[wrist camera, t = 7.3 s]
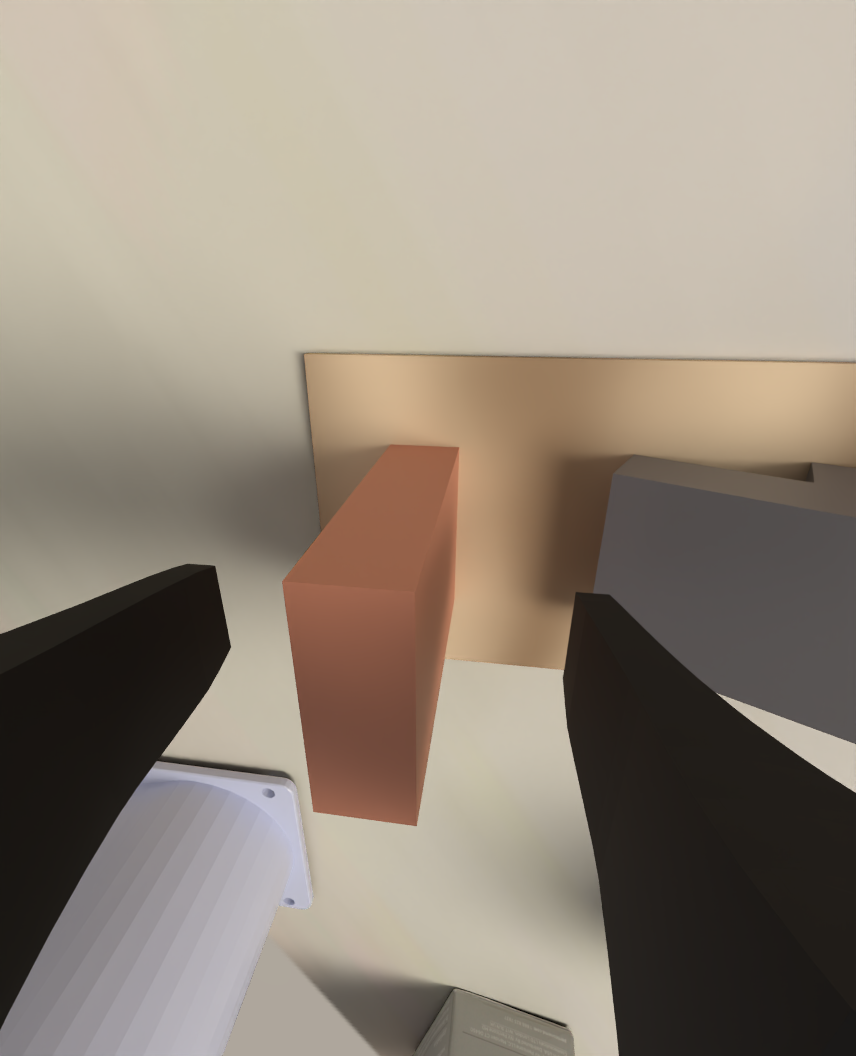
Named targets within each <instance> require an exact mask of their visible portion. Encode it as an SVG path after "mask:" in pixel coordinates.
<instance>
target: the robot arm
mask: <svg viewBox="0 0 856 1056" xmlns="http://www.w3.org/2000/svg"><path fill="white" fill-rule="evenodd" d="M230 648H231V645H230V639H229V634H228V629H227V624H226V619H225V614H224V609H223V604H222V599H221V594H220V588H219V583H218V578H217V573H216V568H215V566H210V565H197V564H185V565H181V566H178V567H174V568H171V569H168V570H165V571H163V572H160V573H157V574H154V575H152V576H149V577H146V578H144V579H141V580H139V581H136V582H134V583H131V584H129V585H126V586H124V587H121V588H119V589H116V590H114V591H111V592H109V593H106V594H104V595H101V596H99V597H96V598H94V599H92V600H89V601H87V602H84V603H82V604H79V605H77V606H74V607H72V608H69V609H66V610H64V611H61V612H58V613H56V614H53V615H50V616H48V617H45V618H42V619H40V620H37V621H34V622H32V623H29V624H26V625H24V626H21V627H18V628H16V629H13V630H11V631H8V632H5V633H2V634H0V1056H223V1053H224V1050H225V1048H226V1045H227V1042H228V1040H229V1037H230V1034H231V1032H232V1029H233V1026H234V1024H235V1021H236V1018H237V1016H238V1013H239V1010H240V1008H241V1005H242V1002H243V1000H244V997H245V994H246V991H247V989H248V986H249V984H250V981H251V978H252V975H253V972H254V970H255V967H256V964H257V962H258V959H259V957H260V954H261V951H262V949H263V946H264V943H265V940H266V938H267V935H268V933H269V930H270V927H271V925H272V922H273V919H274V917H275V914H276V911H277V908H278V906H284V907H290V908H297V909H308V908H309V907H310V906H311V904H312V901H313V897H314V896H313V890H312V883H311V877H310V870H309V864H308V858H307V851H306V845H305V838H304V832H303V826H302V819H301V813H300V806H299V800H298V793H297V788H296V785H295V784H294V783H293V782H292V781H291V780H289V779H287V778H284V777H276V776H268V775H260V774H253V773H245V772H237V771H229V770H222V769H214V768H206V767H198V766H191V765H183V764H175V763H168V762H160V761H157V760H158V759H159V757H160V756H161V755H162V753H163V752H164V751H165V749H166V748H167V747H168V745H169V744H170V743H171V741H172V740H173V738H174V737H175V736H176V734H177V733H178V732H179V730H180V729H181V728H182V726H183V725H184V723H185V722H186V721H187V719H188V718H189V717H190V715H191V714H192V712H193V711H194V710H195V708H196V707H197V705H198V704H199V703H200V701H201V700H202V698H203V697H204V695H205V694H206V693H207V691H208V690H209V688H210V686H211V684H212V683H213V681H214V679H215V677H216V675H217V674H218V672H219V670H220V668H221V666H222V664H223V662H224V660H225V658H226V656H227V654H228V652H229V650H230ZM563 685H564V697H565V709H566V719H567V728H568V733H569V738H570V743H571V748H572V752H573V757H574V762H575V766H576V771H577V776H578V780H579V785H580V790H581V794H582V799H583V803H584V808H585V813H586V817H587V822H588V826H589V831H590V836H591V840H592V845H593V849H594V855H595V861H596V866H597V872H598V878H599V885H600V893H601V901H602V909H603V917H604V925H605V933H606V941H607V949H608V958H609V967H610V976H611V985H612V994H613V1003H614V1012H615V1021H616V1030H617V1040H618V1050H619V1056H856V793H855V792H853V791H852V790H850V789H849V788H847V787H845V786H844V785H842V784H841V783H839V782H838V781H836V780H834V779H833V778H831V777H830V776H828V775H827V774H825V773H824V772H822V771H821V770H819V769H818V768H816V767H815V766H813V765H812V764H810V763H809V762H807V761H806V760H804V759H803V758H801V757H800V756H798V755H797V754H796V753H794V752H793V751H792V750H790V749H789V748H787V747H786V746H785V745H783V744H782V743H780V742H779V741H778V740H776V739H775V738H774V737H772V736H771V735H769V734H768V733H767V732H765V731H764V730H762V729H761V728H760V727H758V726H757V725H756V724H754V723H753V722H752V721H750V720H749V719H748V718H746V717H745V716H744V715H742V714H741V713H740V712H739V711H737V710H736V709H735V708H733V707H732V706H731V705H730V704H729V703H727V702H726V701H725V700H724V699H722V698H721V697H720V696H719V695H718V694H716V693H715V692H714V691H713V690H712V689H710V688H709V687H708V686H707V685H706V684H704V683H703V682H702V681H701V680H700V679H698V678H697V677H696V676H695V675H694V674H693V673H692V672H691V671H689V670H688V669H687V668H686V667H685V666H684V665H683V664H682V663H680V662H679V661H678V660H677V659H676V658H675V657H674V656H673V655H672V654H671V653H670V652H668V651H667V650H666V649H665V648H664V647H663V646H662V645H661V644H660V643H659V642H658V641H657V640H656V639H655V638H654V637H653V636H652V635H651V634H650V633H649V632H648V631H646V630H645V629H644V628H643V627H642V626H641V625H640V624H639V623H638V622H637V621H636V620H635V619H634V618H633V617H632V616H631V615H630V614H629V613H628V612H627V611H626V610H625V609H624V608H623V607H622V606H621V605H620V604H619V603H618V602H617V601H616V600H615V599H614V598H613V597H612V596H611V595H609V594H596V593H582V592H576V593H575V600H574V607H573V614H572V620H571V627H570V634H569V641H568V648H567V654H566V661H565V668H564V675H563Z"/></svg>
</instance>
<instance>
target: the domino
mask: <svg viewBox="0 0 856 1056" xmlns="http://www.w3.org/2000/svg"><path fill="white" fill-rule="evenodd" d="M593 593H596V594H609V595H611V596H612V597H613V598H614V599H615V600H616V601H617V602H618V603H619V604H620V605H621V606H622V607H623V608H624V609H625V610H626V611H627V612H628V613H629V614H630V615H631V616H632V617H633V618H634V619H635V620H636V621H637V622H638V623H639V624H640V625H641V626H642V627H643V628H644V629H645V630H646V631H648V632H649V633H650V634H651V635H652V636H653V637H654V638H655V639H656V640H657V641H658V642H659V643H660V644H661V645H662V646H663V647H664V648H665V649H666V650H667V651H668V652H670V653H671V654H672V655H673V656H674V657H675V658H676V659H677V660H678V661H679V662H680V663H682V664H683V665H684V666H685V667H686V668H687V669H688V670H689V671H691V672H692V673H693V674H694V675H695V676H696V677H697V678H698V679H700V680H701V681H702V682H703V683H704V684H706V685H707V686H708V687H709V688H710V689H712V690H713V691H714V692H716V693H718V694H721V695H724V696H726V697H729V698H732V699H735V700H737V701H740V702H743V703H746V704H748V705H751V706H754V707H756V708H759V709H762V710H765V711H767V712H770V713H773V714H775V715H778V716H781V717H784V718H786V719H789V720H792V721H795V722H797V723H800V724H803V725H805V726H808V727H811V728H814V729H816V730H819V731H822V732H825V733H827V734H830V735H833V736H835V737H838V738H841V739H844V740H846V741H849V742H852V743H855V744H856V490H855V489H849V488H843V487H836V486H830V485H824V484H818V483H811V482H805V481H799V480H792V479H786V478H780V477H774V476H767V475H761V474H755V473H748V472H742V471H736V470H729V469H723V468H717V467H711V466H704V465H698V464H692V463H685V462H679V461H673V460H667V459H660V458H654V457H648V456H641V455H635V454H634V455H633V456H632V457H631V458H630V459H629V460H627V461H626V462H625V463H624V464H623V465H622V466H621V467H620V468H619V469H617V470H616V471H615V472H614V473H613V477H612V483H611V489H610V495H609V501H608V507H607V513H606V519H605V525H604V530H603V536H602V542H601V548H600V554H599V560H598V566H597V572H596V578H595V584H594V590H593Z"/></svg>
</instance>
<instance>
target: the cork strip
mask: <svg viewBox="0 0 856 1056" xmlns="http://www.w3.org/2000/svg"><path fill="white" fill-rule="evenodd" d="M304 360H305V371H306V381H307V391H308V402H309V412H310V423H311V433H312V444H313V454H314V464H315V475H316V485H317V496H318V506H319V516H320V527H321V532H322V530H323V529H324V528H325V527H326V525H327V524H328V523H329V522H330V520H331V519H332V518H333V516H334V515H335V514H336V513H337V511H338V510H339V509H340V508H341V506H342V505H343V504H344V503H345V501H346V500H347V499H348V497H349V496H350V495H351V494H352V492H353V491H354V490H355V489H356V487H357V486H358V485H359V484H360V482H361V481H362V480H363V478H364V477H365V476H366V475H367V473H368V472H369V471H370V470H371V468H372V467H373V466H374V465H375V463H376V462H377V461H378V459H379V458H380V457H381V456H382V454H383V453H384V452H385V451H386V449H387V448H388V447H389V446H390V444H393V445H416V446H440V447H459V475H458V506H457V537H456V568H455V599H454V605H453V611H452V617H451V623H450V629H449V635H448V641H447V647H446V653H445V659H454V660H465V661H475V662H486V663H497V664H507V665H518V666H529V667H539V668H550V669H561V670H564V668H565V661H566V654H567V648H568V641H569V634H570V627H571V620H572V614H573V607H574V600H575V593H576V592H582V593H593V590H594V584H595V578H596V572H597V566H598V560H599V554H600V548H601V542H602V536H603V530H604V525H605V519H606V513H607V507H608V501H609V495H610V489H611V483H612V477H613V473H614V472H615V471H616V470H617V469H619V468H620V467H621V466H622V465H623V464H624V463H625V462H626V461H627V460H629V459H630V458H631V457H632V456H633V455H634V454H635V455H641V456H648V457H654V458H660V459H667V460H673V461H679V462H685V463H692V464H698V465H704V466H711V467H717V468H723V469H729V470H736V471H742V472H748V473H755V474H761V475H767V476H774V477H780V478H786V479H792V480H799V481H806V478H807V475H808V472H809V469H810V466H811V463H812V462H815V463H822V464H829V465H837V466H844V467H851V468H856V363H852V362H794V361H737V360H680V359H622V358H565V357H507V356H450V355H393V354H335V353H307V354H304Z"/></svg>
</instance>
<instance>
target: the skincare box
mask: <svg viewBox="0 0 856 1056" xmlns="http://www.w3.org/2000/svg"><path fill="white" fill-rule="evenodd" d="M413 1056H575V1052H574V1038H573V1035H572V1033H571V1030H570V1029H569V1028H565V1027H562V1026H560V1025H557V1024H554V1023H552V1022H549V1021H546V1020H544V1019H541V1018H538V1017H535V1016H532V1015H530V1014H527V1013H524V1012H521V1011H519V1010H516V1009H513V1008H511V1007H508V1006H506V1005H503V1004H501V1003H498V1002H495V1001H493V1000H490V999H487V998H485V997H482V996H479V995H476V994H473V993H470V992H467V991H464V990H460V989H453V991H452V992H451V994H450V995H449V997H448V999H447V1000H446V1002H445V1004H444V1006H443V1007H442V1009H441V1011H440V1012H439V1014H438V1016H437V1017H436V1019H435V1021H434V1022H433V1024H432V1025H431V1027H430V1029H429V1030H428V1032H427V1033H426V1035H425V1037H424V1038H423V1040H422V1041H421V1043H420V1045H419V1046H418V1048H417V1050H416V1051H415V1053H414V1055H413Z"/></svg>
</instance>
